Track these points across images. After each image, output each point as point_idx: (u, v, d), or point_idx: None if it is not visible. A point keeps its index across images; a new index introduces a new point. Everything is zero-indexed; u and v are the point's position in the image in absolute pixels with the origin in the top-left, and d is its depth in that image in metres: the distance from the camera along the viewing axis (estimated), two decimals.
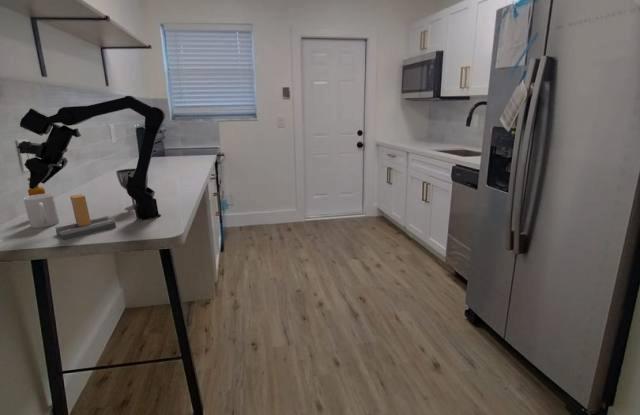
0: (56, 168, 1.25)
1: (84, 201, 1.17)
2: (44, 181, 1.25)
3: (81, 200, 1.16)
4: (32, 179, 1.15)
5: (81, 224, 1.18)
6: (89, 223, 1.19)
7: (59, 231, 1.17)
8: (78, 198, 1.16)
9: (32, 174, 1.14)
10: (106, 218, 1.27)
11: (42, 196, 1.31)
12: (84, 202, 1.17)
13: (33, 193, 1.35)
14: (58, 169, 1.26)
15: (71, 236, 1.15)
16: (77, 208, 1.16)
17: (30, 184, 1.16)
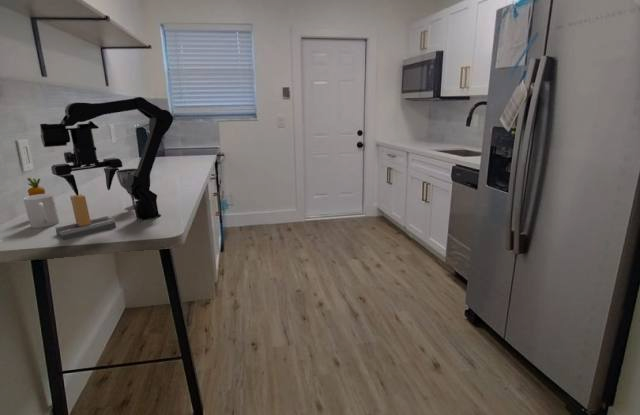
0: (108, 171, 1.21)
1: (84, 201, 1.17)
2: (108, 187, 1.23)
3: (81, 200, 1.16)
4: (70, 185, 1.16)
5: (81, 224, 1.18)
6: (89, 223, 1.19)
7: (59, 231, 1.17)
8: (78, 198, 1.16)
9: (67, 181, 1.16)
10: (106, 218, 1.27)
11: (42, 196, 1.31)
12: (84, 202, 1.17)
13: (33, 193, 1.35)
14: (109, 171, 1.21)
15: (71, 236, 1.15)
16: (77, 208, 1.16)
17: (74, 191, 1.17)
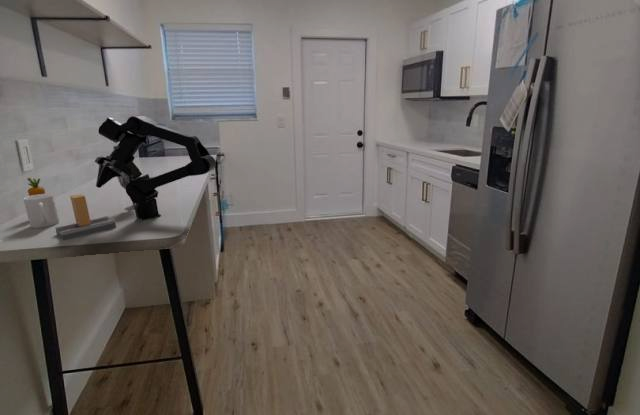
0: None
1: (84, 201, 1.17)
2: None
3: (81, 200, 1.16)
4: None
5: (81, 224, 1.18)
6: (89, 223, 1.19)
7: (59, 231, 1.17)
8: (78, 198, 1.16)
9: None
10: (106, 218, 1.27)
11: (42, 196, 1.31)
12: (84, 202, 1.17)
13: (33, 193, 1.35)
14: None
15: (71, 236, 1.15)
16: (77, 208, 1.16)
17: None
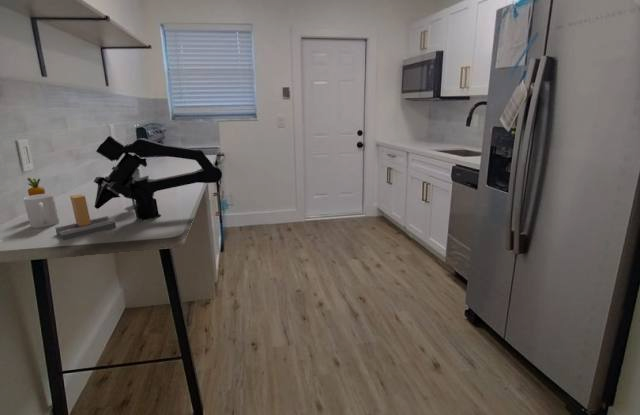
0: None
1: (84, 201, 1.17)
2: None
3: (81, 200, 1.16)
4: None
5: (81, 224, 1.18)
6: (89, 223, 1.19)
7: (59, 231, 1.17)
8: (78, 198, 1.16)
9: None
10: (106, 218, 1.27)
11: (42, 196, 1.31)
12: (84, 202, 1.17)
13: (33, 193, 1.35)
14: None
15: (71, 236, 1.15)
16: (77, 208, 1.16)
17: None
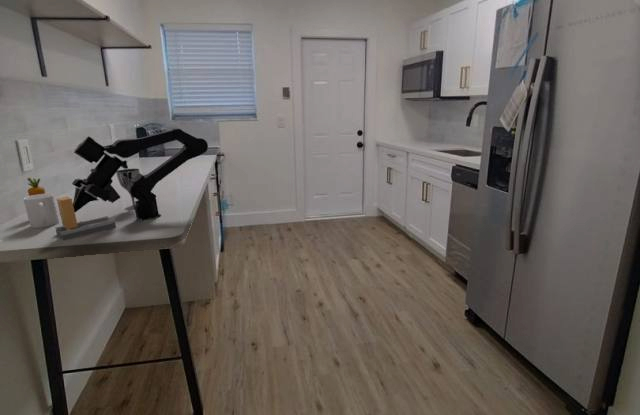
0: None
1: (71, 204, 1.15)
2: None
3: (67, 203, 1.14)
4: None
5: (68, 227, 1.15)
6: (76, 226, 1.17)
7: (59, 231, 1.17)
8: (64, 201, 1.13)
9: None
10: (106, 218, 1.27)
11: (42, 196, 1.31)
12: (71, 205, 1.15)
13: (33, 193, 1.35)
14: None
15: (71, 236, 1.15)
16: (63, 211, 1.13)
17: None
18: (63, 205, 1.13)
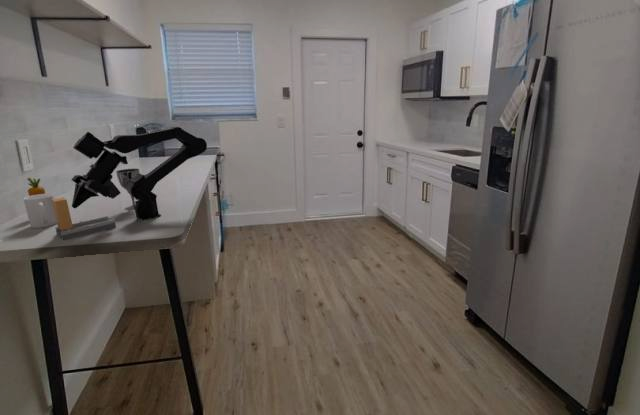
0: None
1: (66, 205, 1.14)
2: None
3: (62, 204, 1.13)
4: None
5: (62, 228, 1.14)
6: (71, 227, 1.16)
7: None
8: (59, 201, 1.12)
9: None
10: (106, 218, 1.27)
11: (42, 196, 1.31)
12: (66, 206, 1.14)
13: (33, 193, 1.35)
14: None
15: (71, 236, 1.15)
16: (58, 212, 1.12)
17: None
18: (58, 206, 1.12)
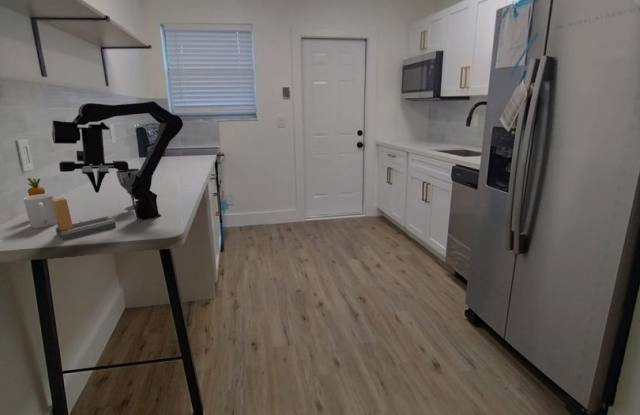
0: (98, 173, 1.19)
1: (66, 205, 1.14)
2: (97, 190, 1.21)
3: (62, 204, 1.13)
4: None
5: (62, 228, 1.14)
6: (71, 227, 1.16)
7: None
8: (59, 201, 1.12)
9: (89, 178, 1.20)
10: (106, 218, 1.27)
11: (42, 196, 1.31)
12: (66, 206, 1.14)
13: (33, 193, 1.35)
14: (98, 173, 1.19)
15: (71, 236, 1.15)
16: (58, 212, 1.12)
17: None
18: (58, 206, 1.12)
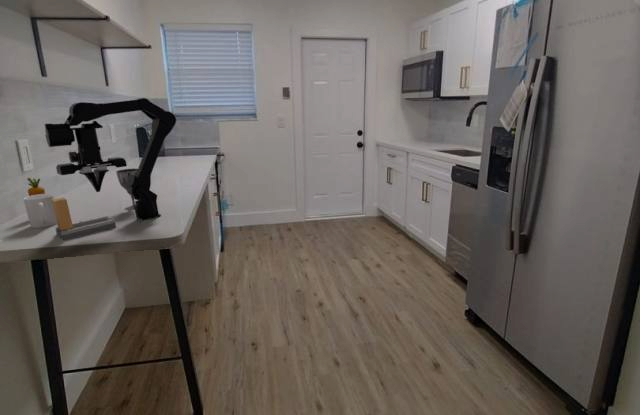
0: (98, 172, 1.19)
1: (66, 205, 1.14)
2: (98, 189, 1.21)
3: (62, 204, 1.13)
4: (91, 182, 1.20)
5: (62, 228, 1.14)
6: (71, 227, 1.16)
7: None
8: (59, 201, 1.12)
9: (88, 178, 1.20)
10: (106, 218, 1.27)
11: (42, 196, 1.31)
12: (66, 206, 1.14)
13: (33, 193, 1.35)
14: (98, 173, 1.19)
15: (71, 236, 1.15)
16: (58, 212, 1.12)
17: (94, 188, 1.21)
18: (58, 206, 1.12)
